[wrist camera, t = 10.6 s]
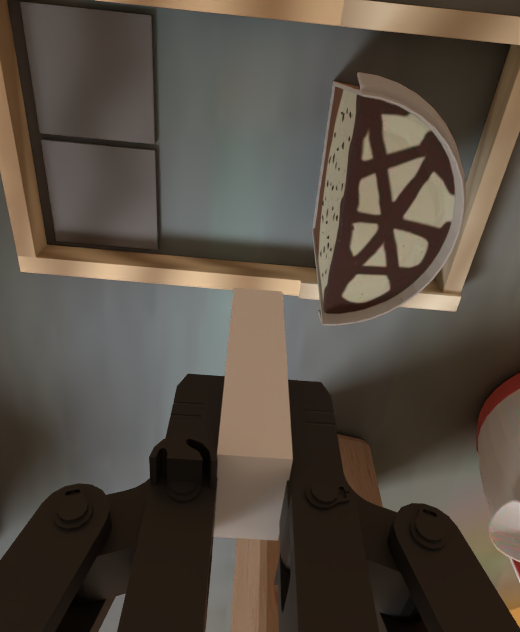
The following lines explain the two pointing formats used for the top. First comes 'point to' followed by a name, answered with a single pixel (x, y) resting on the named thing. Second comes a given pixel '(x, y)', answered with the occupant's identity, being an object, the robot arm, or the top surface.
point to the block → (262, 555)
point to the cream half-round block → (383, 200)
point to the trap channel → (139, 126)
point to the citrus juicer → (502, 466)
